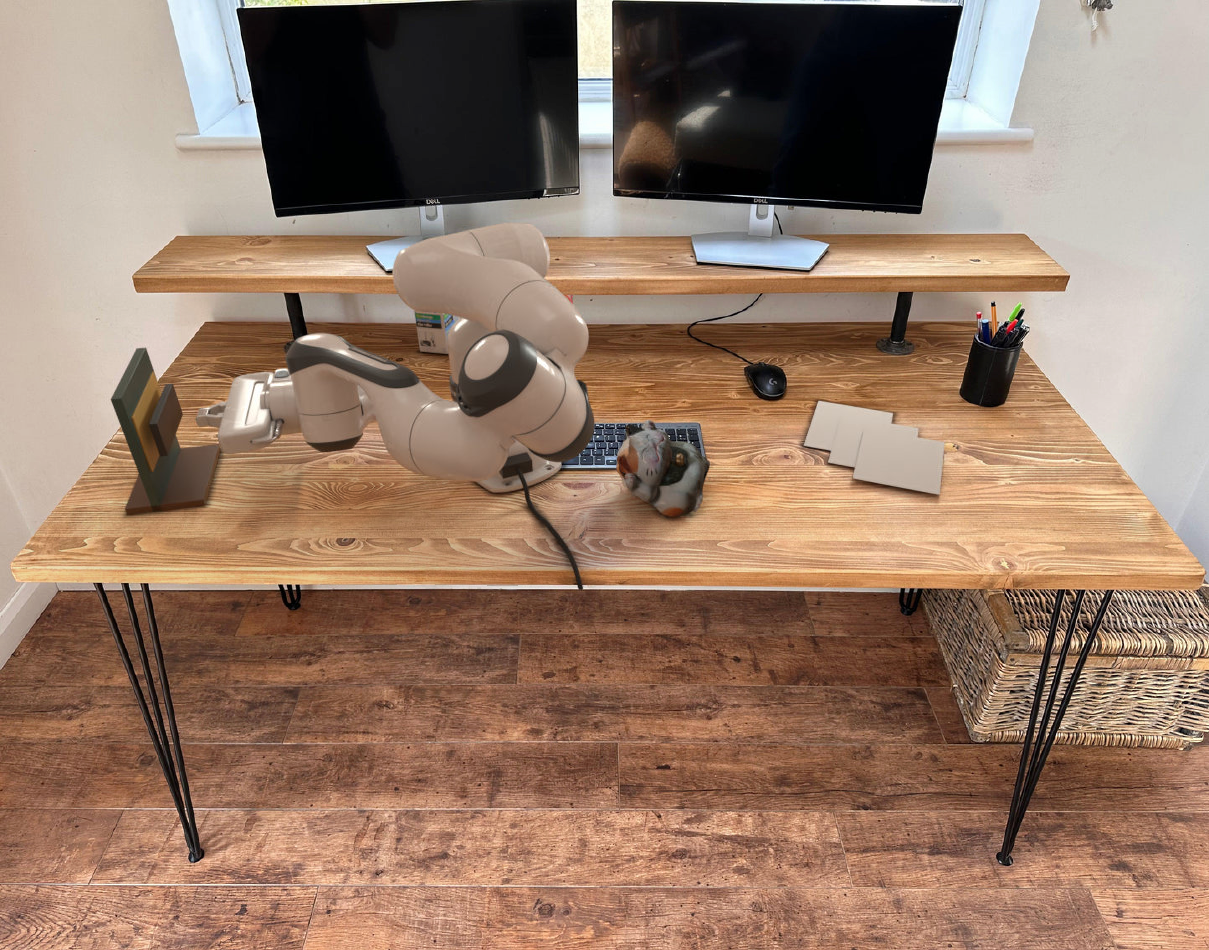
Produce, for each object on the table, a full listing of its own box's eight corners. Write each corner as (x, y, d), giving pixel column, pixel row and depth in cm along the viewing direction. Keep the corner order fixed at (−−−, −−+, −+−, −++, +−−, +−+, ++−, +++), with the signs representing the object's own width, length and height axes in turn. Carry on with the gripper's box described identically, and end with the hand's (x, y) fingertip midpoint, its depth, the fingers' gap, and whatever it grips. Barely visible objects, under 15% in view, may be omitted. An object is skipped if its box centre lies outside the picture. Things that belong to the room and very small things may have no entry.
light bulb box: (448, 355, 187) (442, 307, 181) (418, 352, 188) (412, 305, 182) (465, 333, 195) (460, 287, 189) (436, 330, 196) (430, 285, 190)
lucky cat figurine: (694, 527, 138) (654, 468, 130) (631, 530, 145) (589, 474, 137) (721, 456, 146) (684, 397, 138) (660, 462, 154) (622, 406, 146)
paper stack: (795, 470, 150) (795, 467, 150) (818, 400, 170) (818, 397, 169) (938, 498, 144) (939, 494, 143) (946, 422, 163) (946, 418, 162)
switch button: (183, 414, 150) (172, 383, 147) (168, 455, 140) (156, 423, 136) (175, 415, 150) (165, 384, 147) (160, 456, 140) (148, 424, 136)
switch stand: (220, 449, 158) (187, 343, 146) (205, 505, 144) (167, 393, 132) (149, 457, 156) (110, 350, 144) (126, 515, 142) (81, 402, 130)
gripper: (284, 457, 139) (192, 468, 137) (294, 395, 156) (212, 404, 154) (275, 423, 136) (180, 434, 134) (286, 363, 152) (202, 371, 150)
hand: (197, 417), depth 144 cm, fingers closed
